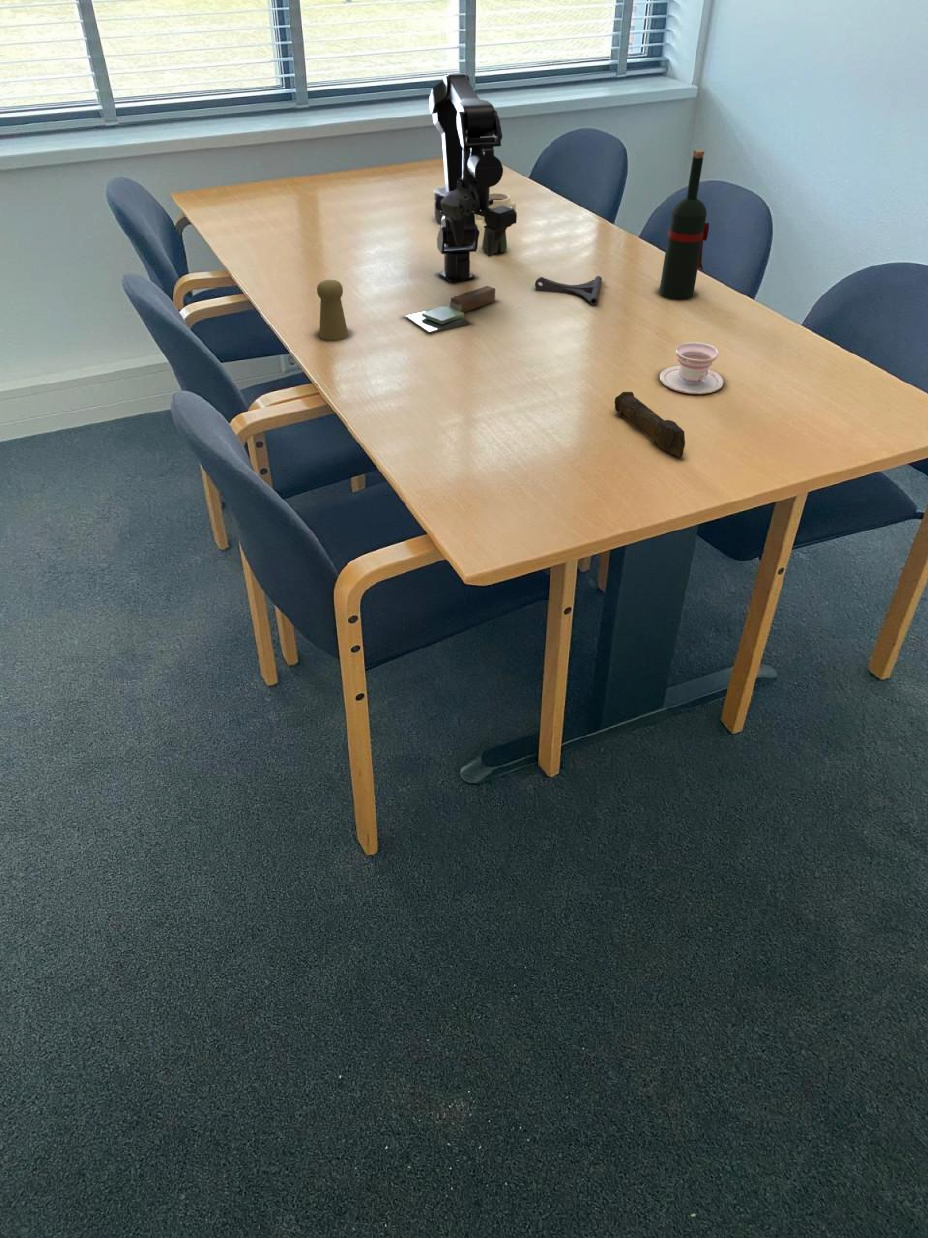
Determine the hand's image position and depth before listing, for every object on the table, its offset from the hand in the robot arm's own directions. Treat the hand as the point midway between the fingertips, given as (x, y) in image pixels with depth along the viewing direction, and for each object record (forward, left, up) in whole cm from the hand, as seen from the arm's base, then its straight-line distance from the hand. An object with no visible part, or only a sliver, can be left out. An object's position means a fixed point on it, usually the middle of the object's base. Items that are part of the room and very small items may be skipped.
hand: (474, 250), depth 198 cm
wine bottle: (+19, +44, -12) cm, 50 cm away
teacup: (+55, +14, -12) cm, 58 cm away
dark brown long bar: (+67, -6, -12) cm, 68 cm away
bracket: (+5, +22, -12) cm, 26 cm away
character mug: (-27, +23, -12) cm, 38 cm away
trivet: (+5, -12, -11) cm, 17 cm away
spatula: (+3, -5, -11) cm, 12 cm away
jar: (-54, +27, -12) cm, 62 cm away
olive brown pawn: (0, -35, -12) cm, 36 cm away
